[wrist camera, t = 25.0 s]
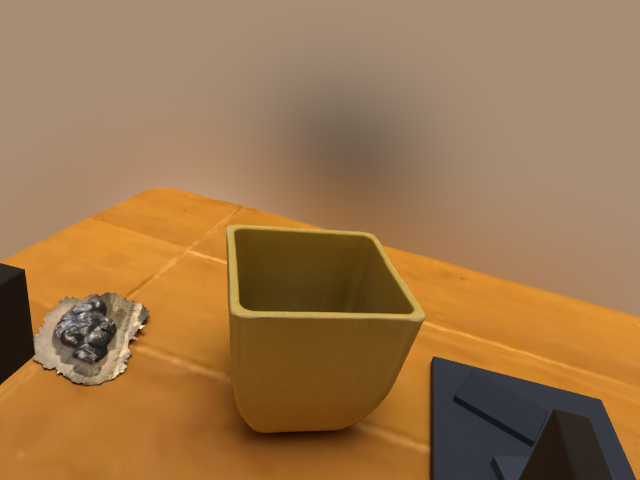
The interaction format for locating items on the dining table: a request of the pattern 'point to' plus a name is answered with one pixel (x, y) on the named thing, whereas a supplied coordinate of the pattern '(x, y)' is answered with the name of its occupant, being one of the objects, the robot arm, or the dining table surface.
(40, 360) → the grey mineral rock
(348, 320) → the flower pot
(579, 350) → the dining table surface
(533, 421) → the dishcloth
